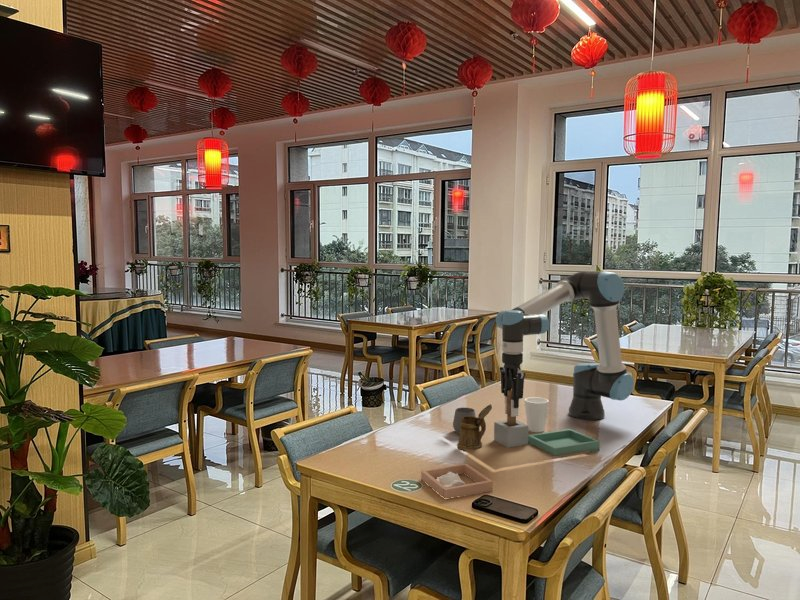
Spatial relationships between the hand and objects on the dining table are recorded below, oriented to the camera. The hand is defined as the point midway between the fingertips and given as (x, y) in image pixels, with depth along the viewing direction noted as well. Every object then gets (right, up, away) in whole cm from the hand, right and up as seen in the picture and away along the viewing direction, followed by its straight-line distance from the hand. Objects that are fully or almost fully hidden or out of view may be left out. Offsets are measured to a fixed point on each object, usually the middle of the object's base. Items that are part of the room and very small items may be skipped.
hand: (511, 414), depth 216 cm
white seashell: (-26, -15, -37) cm, 48 cm away
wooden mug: (-14, -12, -4) cm, 19 cm away
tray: (+19, -12, -2) cm, 22 cm away
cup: (-16, -11, +13) cm, 23 cm away
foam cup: (+13, -10, +16) cm, 23 cm away
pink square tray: (-24, -15, -36) cm, 46 cm away
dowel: (0, -9, +1) cm, 9 cm away
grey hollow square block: (0, -11, +1) cm, 11 cm away
